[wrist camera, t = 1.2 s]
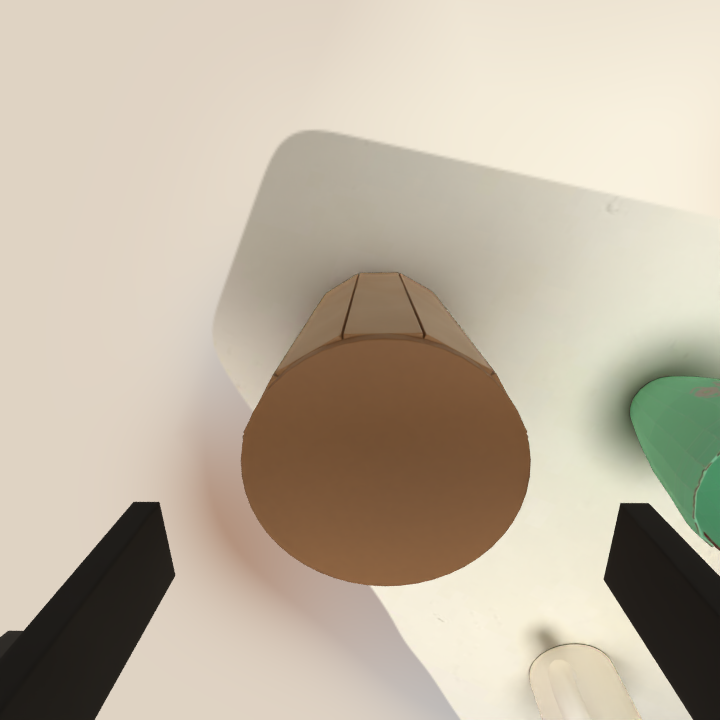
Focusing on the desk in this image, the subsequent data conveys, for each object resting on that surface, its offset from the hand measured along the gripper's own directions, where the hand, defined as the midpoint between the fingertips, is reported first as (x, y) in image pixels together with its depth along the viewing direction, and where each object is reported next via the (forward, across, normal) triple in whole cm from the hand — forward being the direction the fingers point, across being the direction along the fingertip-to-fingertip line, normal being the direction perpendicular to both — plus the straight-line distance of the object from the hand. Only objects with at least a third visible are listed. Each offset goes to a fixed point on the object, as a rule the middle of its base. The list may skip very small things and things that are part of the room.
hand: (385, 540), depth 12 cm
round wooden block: (+19, 0, 0) cm, 19 cm away
